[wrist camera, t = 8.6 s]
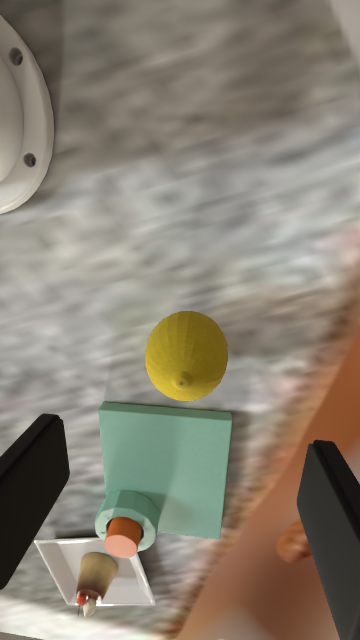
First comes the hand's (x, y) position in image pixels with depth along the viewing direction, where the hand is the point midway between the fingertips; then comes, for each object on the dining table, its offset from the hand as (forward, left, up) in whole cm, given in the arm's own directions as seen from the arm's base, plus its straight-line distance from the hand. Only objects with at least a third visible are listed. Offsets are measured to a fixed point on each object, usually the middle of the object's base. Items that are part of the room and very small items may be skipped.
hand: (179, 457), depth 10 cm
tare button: (+20, -6, -10) cm, 23 cm away
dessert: (+31, -10, -13) cm, 35 cm away
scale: (+15, -2, -13) cm, 19 cm away
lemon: (0, 0, -13) cm, 13 cm away
